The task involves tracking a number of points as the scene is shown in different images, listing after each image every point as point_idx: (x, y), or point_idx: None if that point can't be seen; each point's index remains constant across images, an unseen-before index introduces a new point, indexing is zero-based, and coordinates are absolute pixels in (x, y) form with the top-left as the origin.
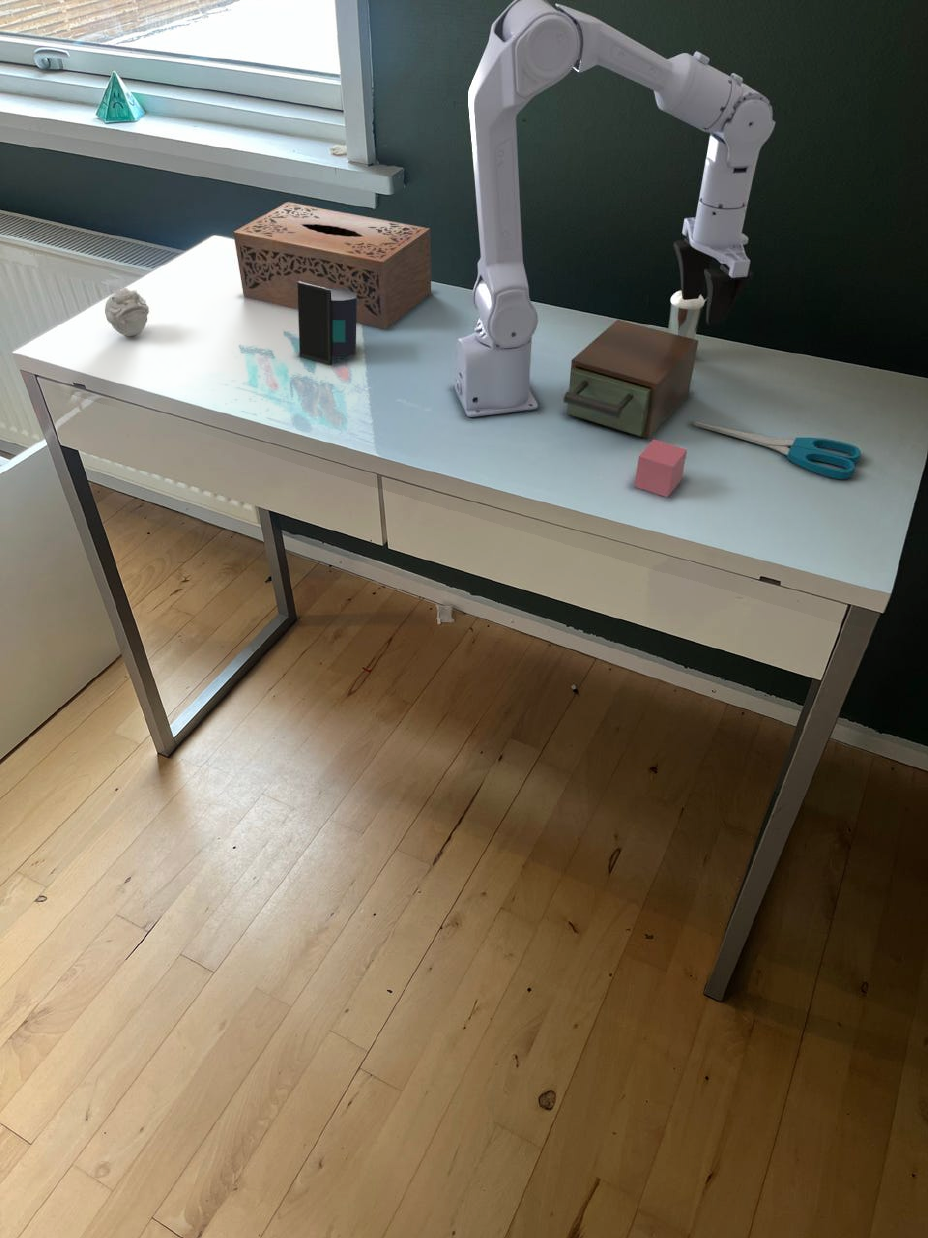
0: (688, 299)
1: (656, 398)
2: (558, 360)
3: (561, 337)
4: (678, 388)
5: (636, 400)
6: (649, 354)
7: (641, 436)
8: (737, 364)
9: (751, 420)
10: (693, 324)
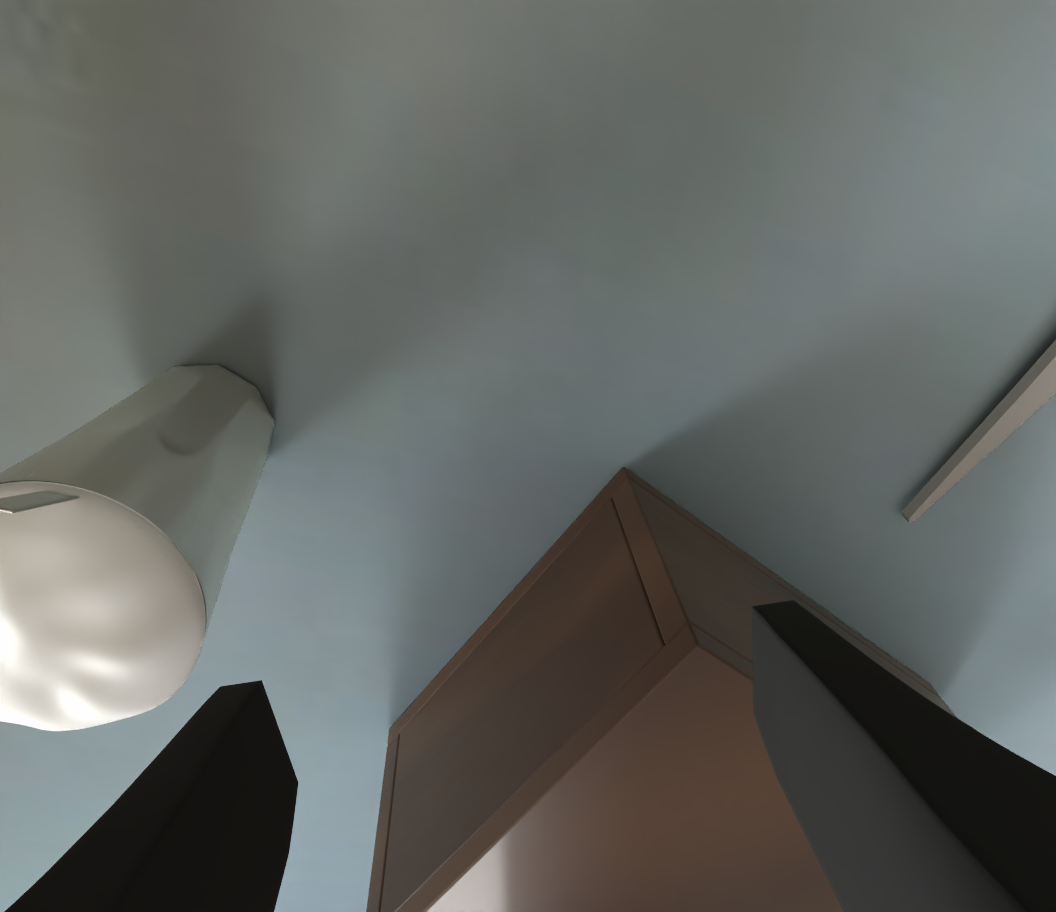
0: (286, 751)
1: None
2: (287, 877)
3: None
4: None
5: None
6: (805, 896)
7: None
8: (310, 93)
9: (935, 232)
10: (219, 494)
